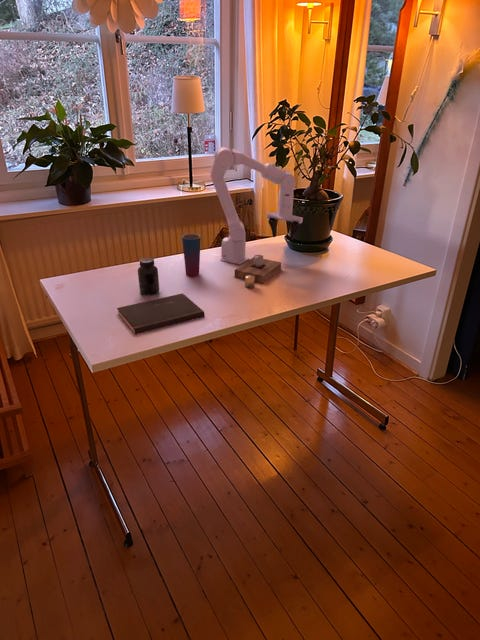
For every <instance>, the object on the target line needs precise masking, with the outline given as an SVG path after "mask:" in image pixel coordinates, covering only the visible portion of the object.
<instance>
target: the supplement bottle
mask: <svg viewBox="0 0 480 640" xmlns="http://www.w3.org/2000/svg"><path fill="white" fill-rule="evenodd" d="M137 277H138V278H137V279H138V287H139V292H140V294H141V295H143V296H154V295H157V294H159V292H160V281H159V279H160V278H159V270H158V267H157V266H156V265H155V259H154V258H153V257H142V258H140V259H139V267H138V268H137Z"/></svg>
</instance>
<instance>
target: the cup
mask: <svg viewBox="0 0 480 640" xmlns="http://www.w3.org/2000/svg"><path fill="white" fill-rule="evenodd" d="M181 240H182V249H183V259H184V269H185V276H187V277H189V278H195V277H198V276H200V264H201V262H200V261H201V260H200V258H201V235H200V234H198V233H185V234H183V235H182V236H181Z"/></svg>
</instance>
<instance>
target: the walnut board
mask: <svg viewBox="0 0 480 640" xmlns="http://www.w3.org/2000/svg"><path fill="white" fill-rule="evenodd" d="M281 269H282V262H281V261H278V260H277V261H276V260H271V259H267V258H263V268H262V269H258V268H254V256H253V257H252V258H249V259H248V260H246V261H245V262H243V263H242V264H240V265H239V266H238V267H237V268H235V269H234V278H236V279H241V280H242V279H243V280H245V276H246V275H254V276H255V279H254V283H257V284H258V283H259V284H264V283H266V282H267V281H268V280H269V279H271V278H273V276H275V275H276V274H277V273H278V272H280V271H281Z"/></svg>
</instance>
